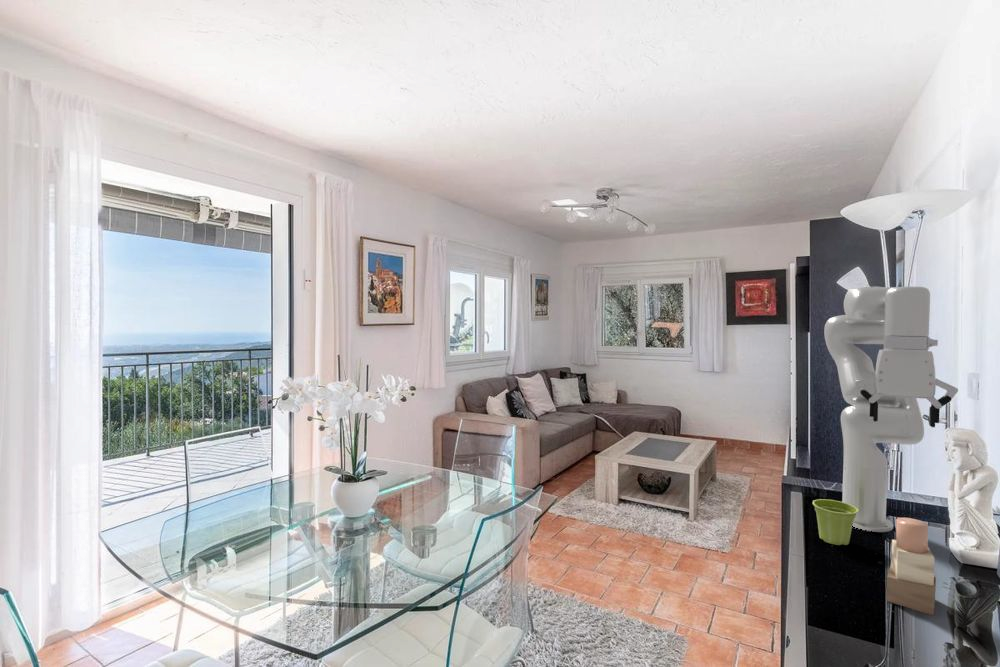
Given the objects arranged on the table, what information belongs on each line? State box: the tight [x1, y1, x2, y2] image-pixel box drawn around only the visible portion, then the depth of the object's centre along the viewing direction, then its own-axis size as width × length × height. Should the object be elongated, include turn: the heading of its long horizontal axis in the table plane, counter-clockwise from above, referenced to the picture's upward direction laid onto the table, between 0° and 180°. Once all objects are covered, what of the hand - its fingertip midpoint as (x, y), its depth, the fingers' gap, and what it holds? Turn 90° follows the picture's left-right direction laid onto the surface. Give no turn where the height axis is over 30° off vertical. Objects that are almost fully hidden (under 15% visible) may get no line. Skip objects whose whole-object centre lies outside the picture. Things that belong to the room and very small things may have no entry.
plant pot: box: [812, 498, 858, 546], centre depth 125 cm, size 9×9×9 cm
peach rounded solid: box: [895, 517, 929, 553], centre depth 99 cm, size 5×5×5 cm
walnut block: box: [886, 564, 937, 616], centre depth 99 cm, size 7×7×5 cm
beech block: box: [890, 539, 936, 586], centre depth 99 cm, size 6×6×6 cm
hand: (902, 423), depth 110 cm, fingers open, 9 cm apart
